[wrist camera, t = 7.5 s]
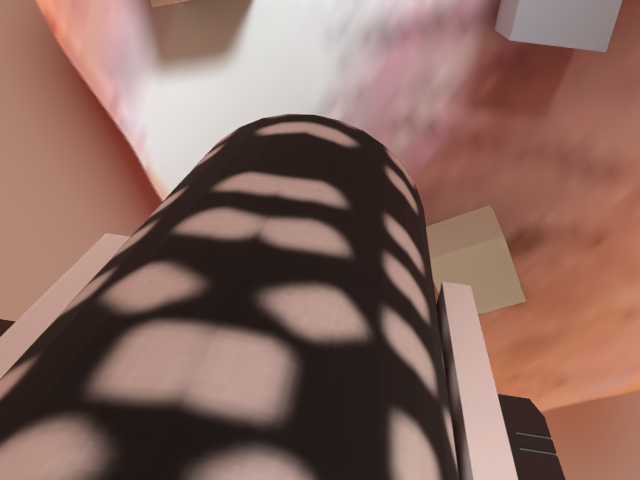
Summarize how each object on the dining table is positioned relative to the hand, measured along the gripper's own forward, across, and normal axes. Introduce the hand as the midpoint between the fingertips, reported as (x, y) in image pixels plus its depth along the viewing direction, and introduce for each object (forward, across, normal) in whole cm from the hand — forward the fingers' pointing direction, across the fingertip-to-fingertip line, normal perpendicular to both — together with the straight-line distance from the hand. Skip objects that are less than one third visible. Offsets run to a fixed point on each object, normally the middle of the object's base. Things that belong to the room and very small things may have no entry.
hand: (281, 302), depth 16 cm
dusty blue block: (+24, +11, +8) cm, 28 cm away
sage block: (+24, +10, -9) cm, 28 cm away
